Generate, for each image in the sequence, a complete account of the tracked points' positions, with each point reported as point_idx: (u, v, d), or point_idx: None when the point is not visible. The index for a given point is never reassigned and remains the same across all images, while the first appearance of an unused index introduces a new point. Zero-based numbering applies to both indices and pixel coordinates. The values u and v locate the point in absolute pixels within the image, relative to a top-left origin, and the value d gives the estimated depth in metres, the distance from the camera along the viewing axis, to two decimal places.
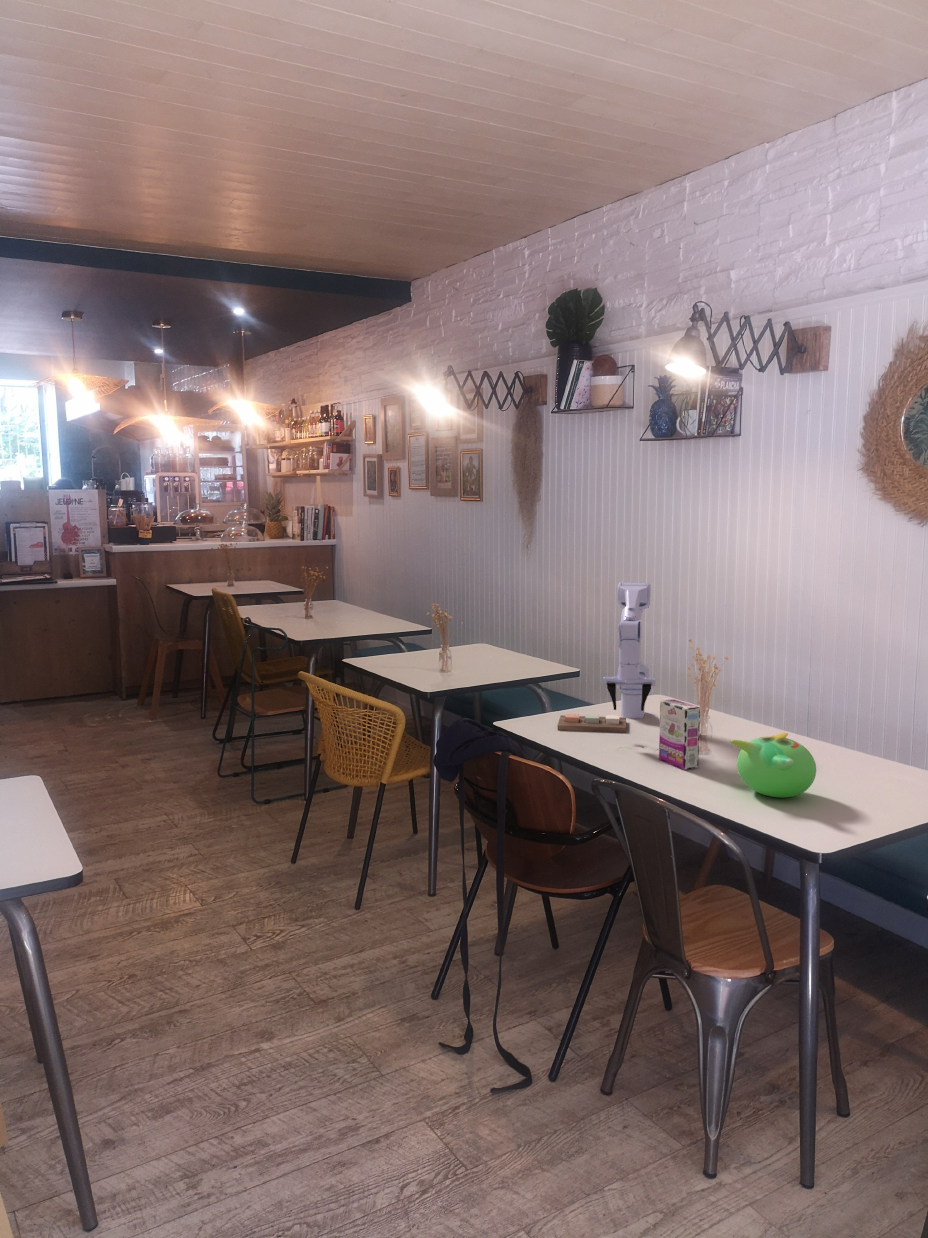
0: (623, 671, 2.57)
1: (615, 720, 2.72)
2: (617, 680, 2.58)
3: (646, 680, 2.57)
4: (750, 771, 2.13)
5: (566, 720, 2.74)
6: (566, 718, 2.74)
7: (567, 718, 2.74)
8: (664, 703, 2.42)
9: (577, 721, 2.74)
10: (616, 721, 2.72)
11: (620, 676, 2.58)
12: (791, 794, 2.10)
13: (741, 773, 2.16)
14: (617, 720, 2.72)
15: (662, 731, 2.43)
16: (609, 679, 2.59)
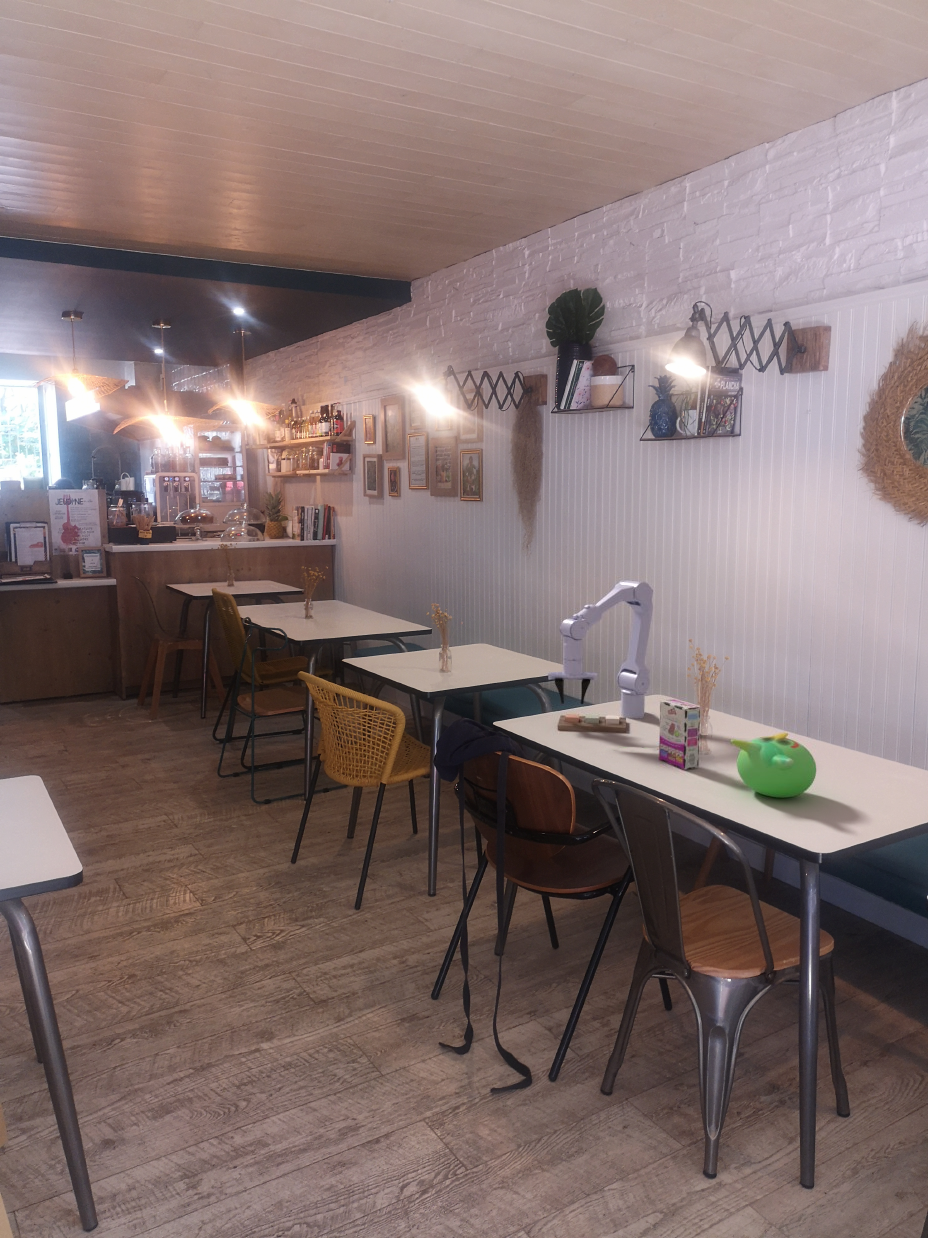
0: (566, 666, 2.72)
1: (615, 720, 2.72)
2: (561, 675, 2.73)
3: (588, 675, 2.72)
4: (750, 771, 2.13)
5: (566, 720, 2.74)
6: (566, 718, 2.74)
7: (567, 718, 2.74)
8: (664, 703, 2.42)
9: (577, 721, 2.74)
10: (616, 721, 2.72)
11: (564, 671, 2.73)
12: (791, 794, 2.10)
13: (741, 773, 2.16)
14: (617, 720, 2.72)
15: (662, 731, 2.43)
16: (554, 674, 2.74)
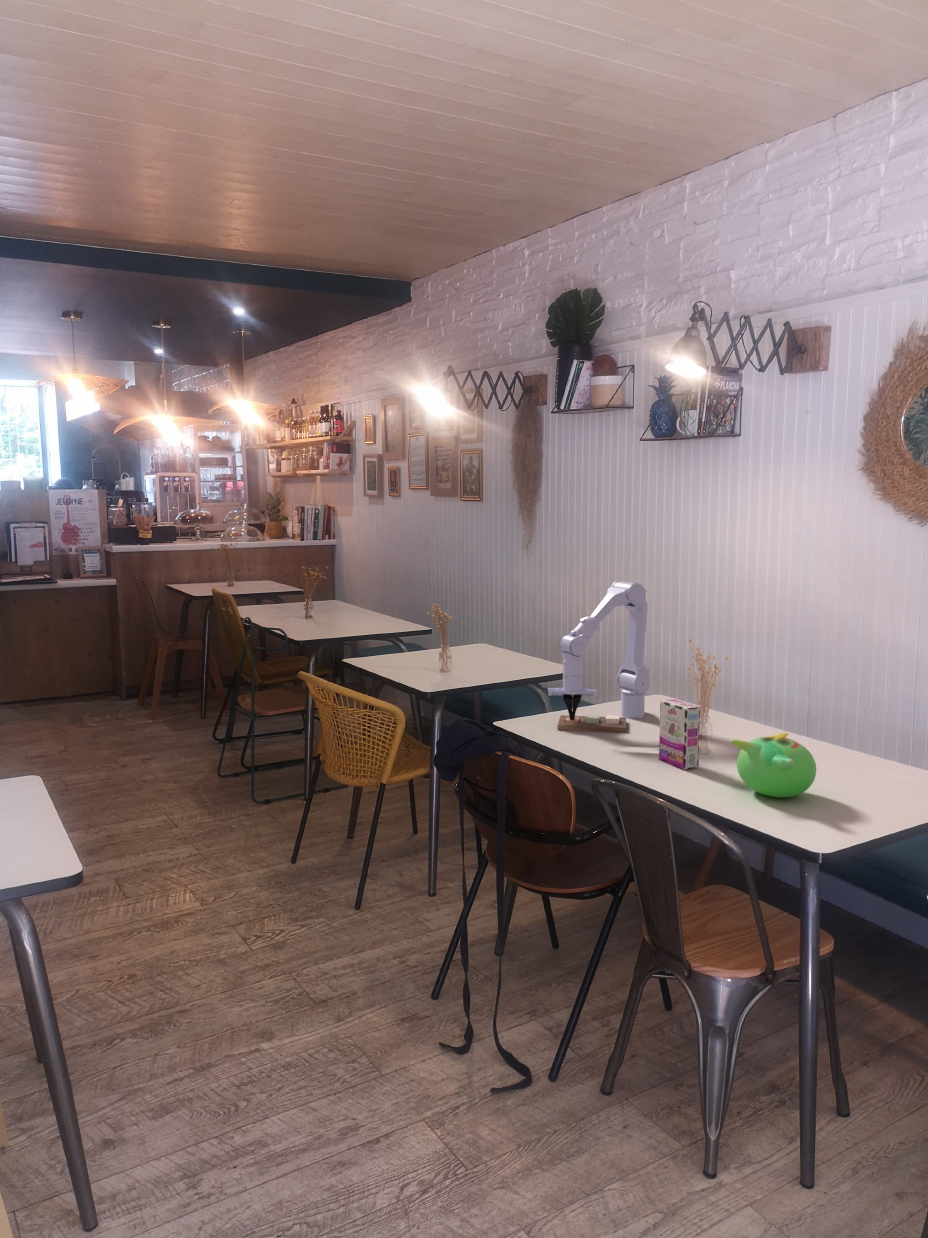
0: (566, 683, 2.72)
1: (615, 720, 2.72)
2: (561, 691, 2.73)
3: (588, 691, 2.72)
4: (750, 771, 2.13)
5: None
6: (566, 721, 2.74)
7: (567, 721, 2.74)
8: (664, 703, 2.42)
9: None
10: (616, 721, 2.72)
11: (564, 687, 2.74)
12: (791, 794, 2.10)
13: (741, 773, 2.16)
14: (617, 720, 2.72)
15: (662, 731, 2.43)
16: (553, 690, 2.74)
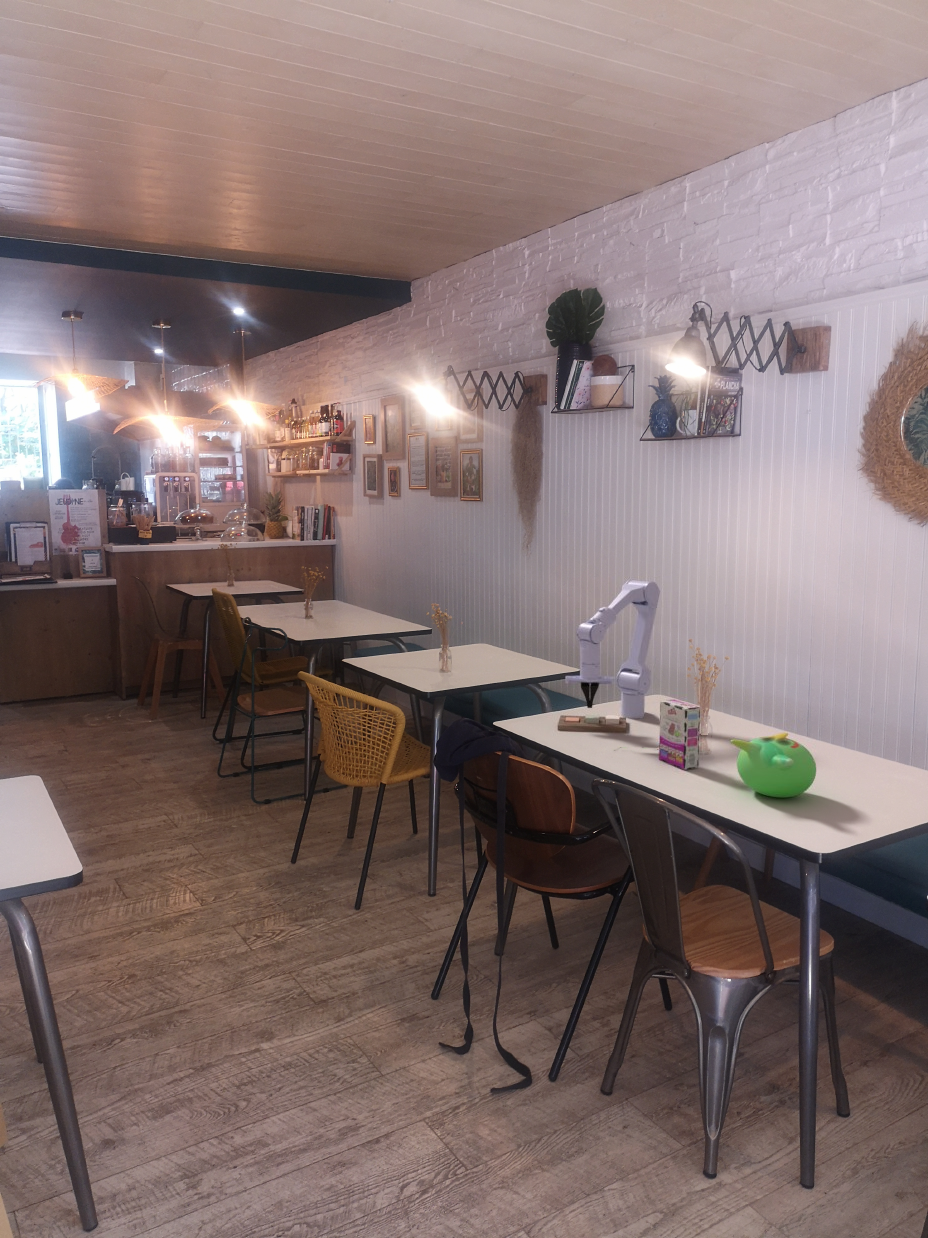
0: (583, 670, 2.71)
1: (615, 720, 2.72)
2: (578, 679, 2.72)
3: (606, 679, 2.71)
4: (750, 771, 2.13)
5: None
6: (566, 721, 2.74)
7: (567, 721, 2.74)
8: (664, 703, 2.42)
9: None
10: (616, 721, 2.72)
11: (581, 675, 2.72)
12: (791, 794, 2.10)
13: (741, 773, 2.16)
14: (617, 720, 2.72)
15: (662, 731, 2.43)
16: (571, 678, 2.73)
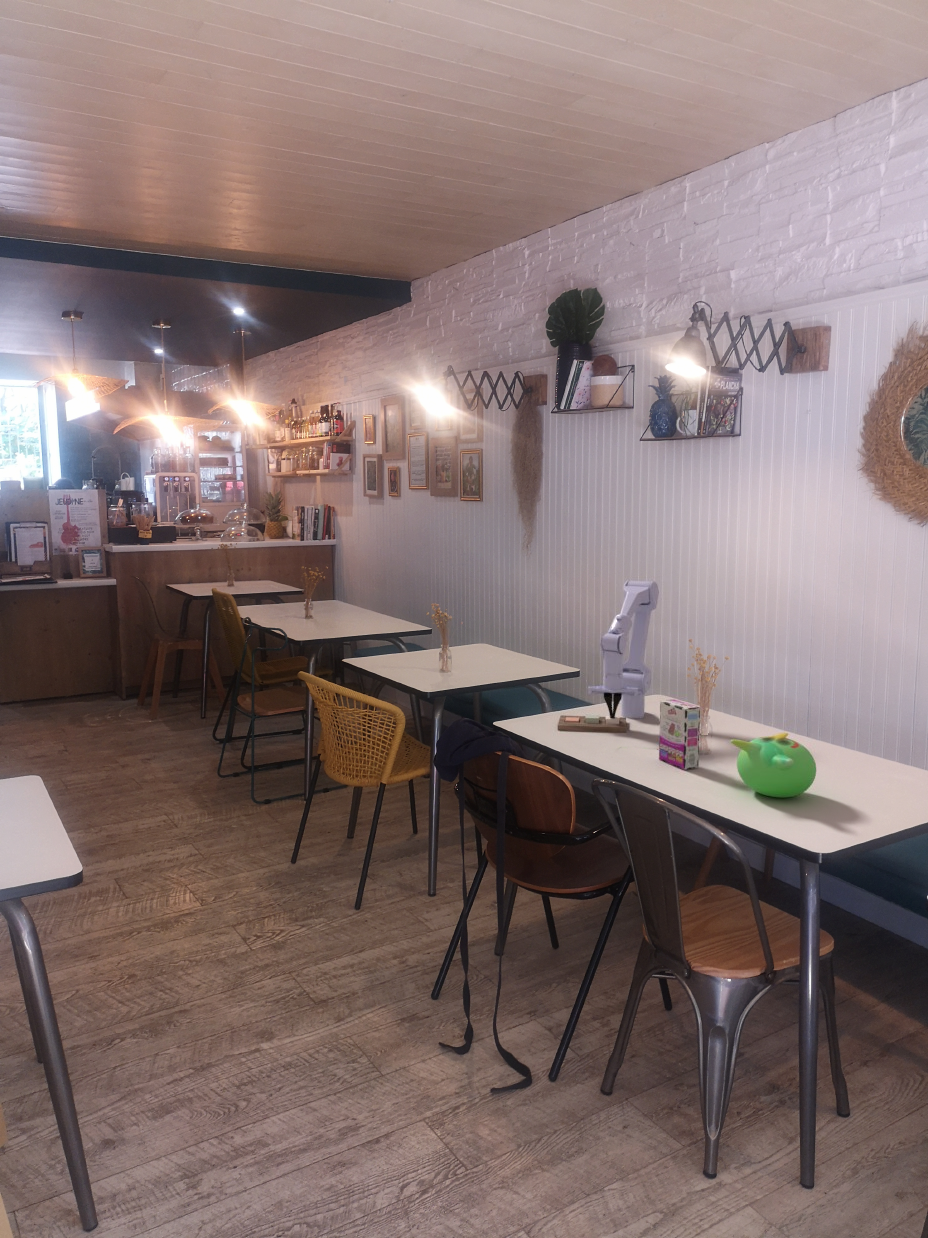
0: (607, 681, 2.70)
1: (615, 720, 2.72)
2: (601, 690, 2.71)
3: (629, 690, 2.70)
4: (750, 771, 2.13)
5: None
6: (566, 721, 2.74)
7: (567, 721, 2.74)
8: (664, 703, 2.42)
9: None
10: (616, 721, 2.72)
11: (604, 686, 2.71)
12: (791, 794, 2.10)
13: (741, 773, 2.16)
14: (617, 720, 2.72)
15: (662, 731, 2.43)
16: (594, 689, 2.72)
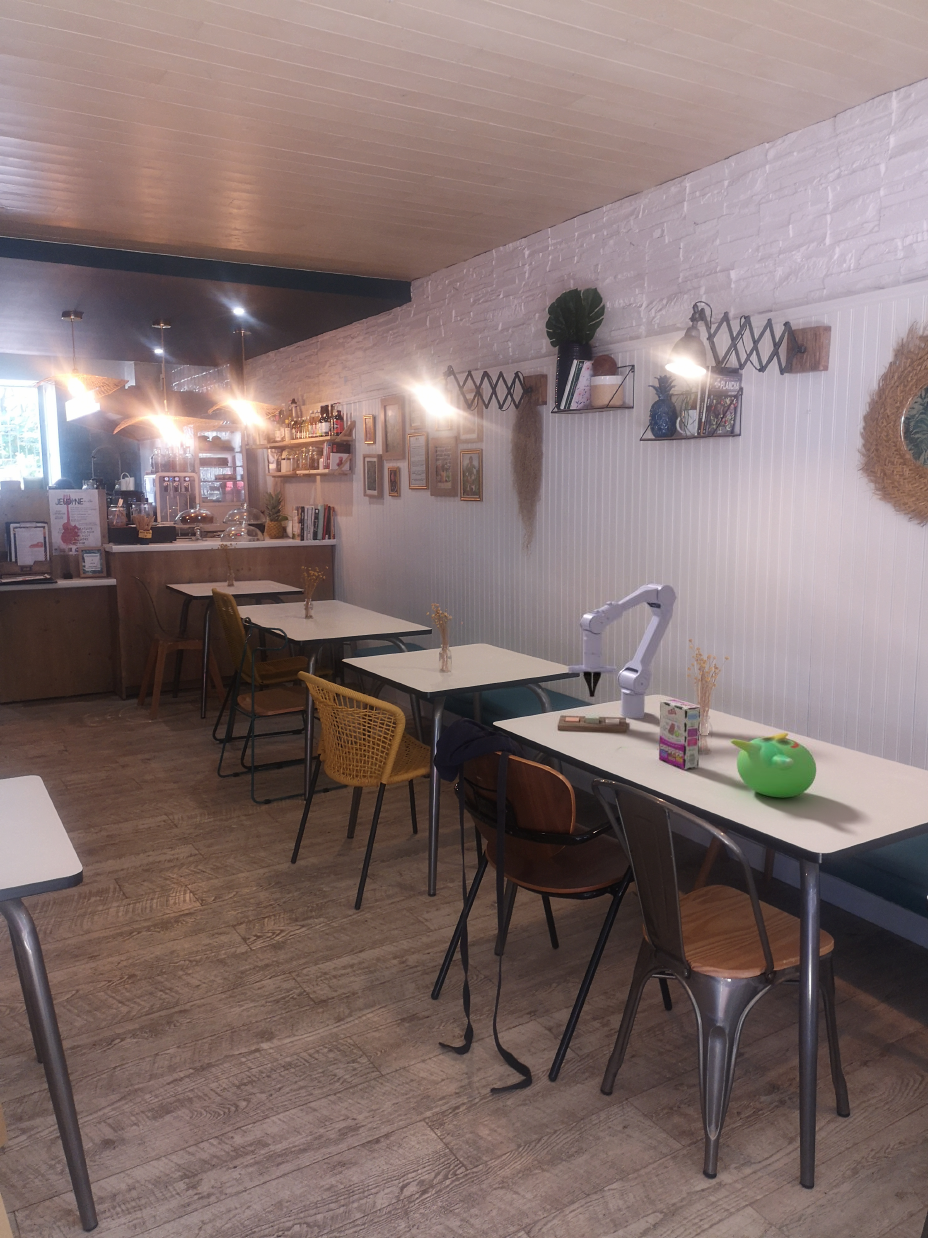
0: (586, 660, 2.77)
1: (615, 723, 2.72)
2: (581, 669, 2.78)
3: (608, 668, 2.77)
4: (750, 771, 2.13)
5: None
6: (566, 721, 2.74)
7: (567, 721, 2.74)
8: (664, 703, 2.42)
9: None
10: None
11: (584, 665, 2.78)
12: (791, 794, 2.10)
13: (741, 773, 2.16)
14: (617, 723, 2.72)
15: (662, 731, 2.43)
16: (574, 668, 2.79)
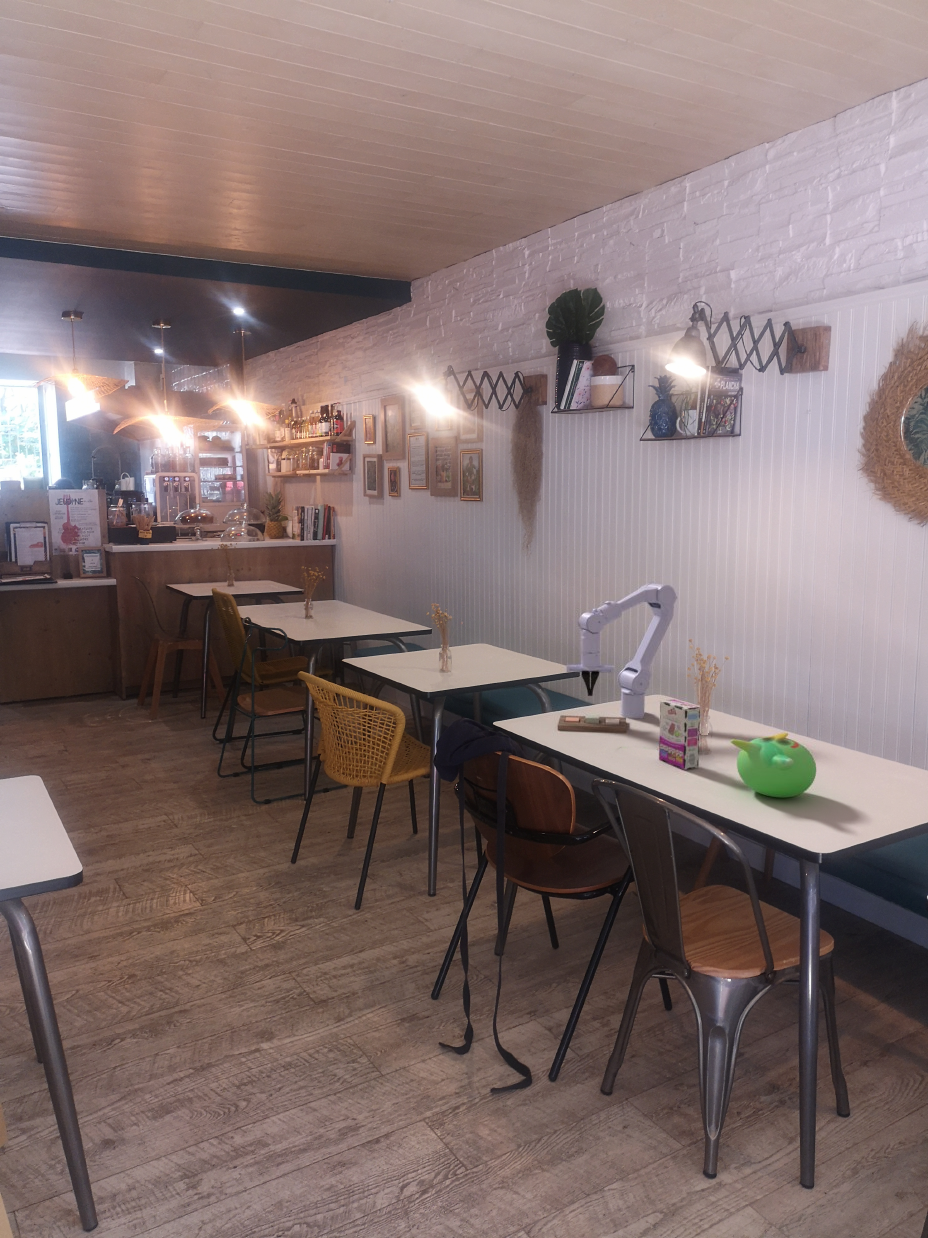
0: (584, 659, 2.77)
1: (615, 723, 2.72)
2: (579, 668, 2.78)
3: (606, 668, 2.77)
4: (750, 771, 2.13)
5: None
6: (566, 721, 2.74)
7: (567, 721, 2.74)
8: (664, 703, 2.42)
9: None
10: None
11: (582, 664, 2.79)
12: (791, 794, 2.10)
13: (741, 773, 2.16)
14: (617, 723, 2.72)
15: (662, 731, 2.43)
16: (572, 667, 2.80)
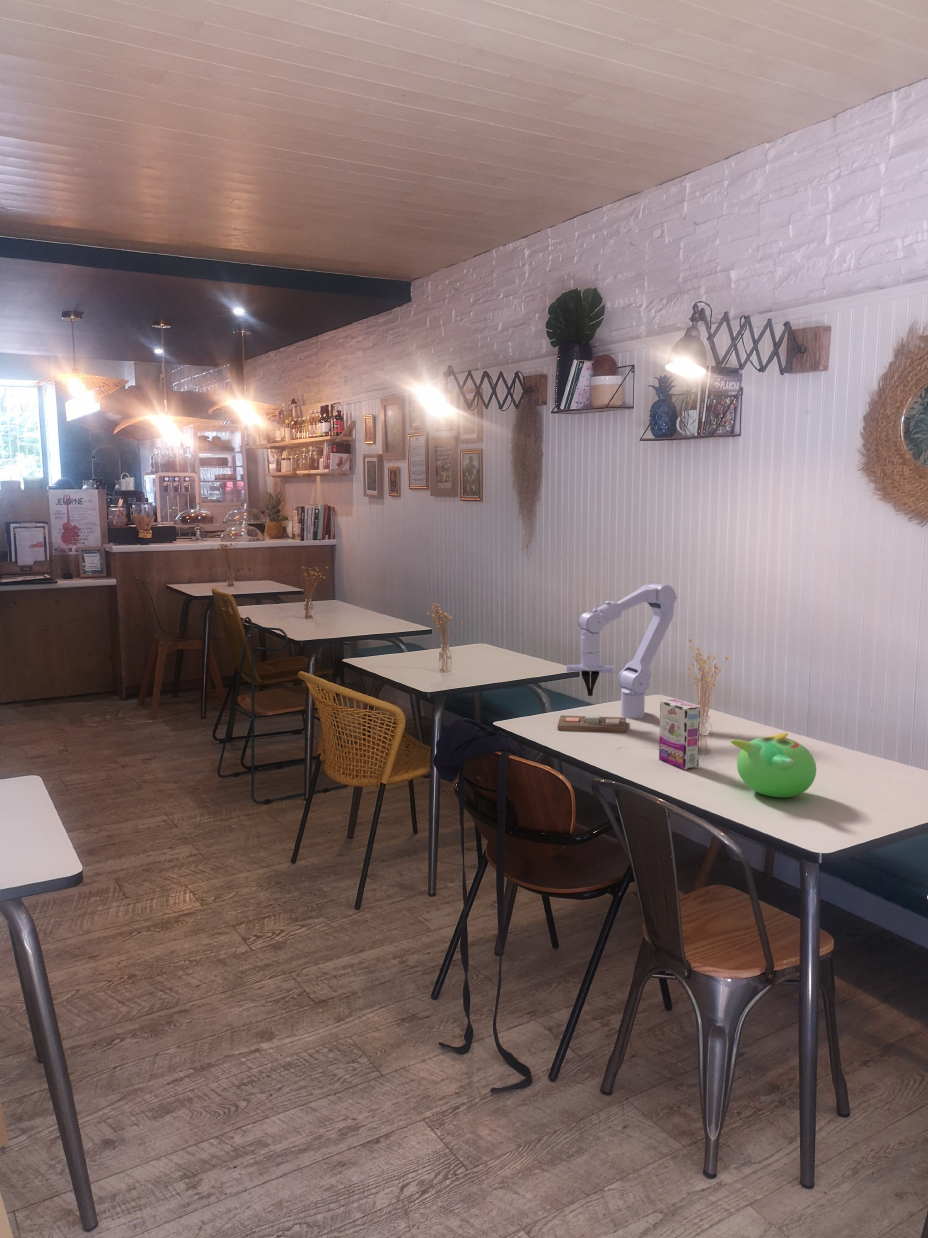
0: (584, 659, 2.77)
1: (615, 723, 2.72)
2: (579, 668, 2.78)
3: (606, 668, 2.77)
4: (750, 771, 2.13)
5: None
6: (566, 721, 2.74)
7: (567, 721, 2.74)
8: (664, 703, 2.42)
9: None
10: None
11: (582, 664, 2.79)
12: (791, 794, 2.10)
13: (741, 773, 2.16)
14: (617, 723, 2.72)
15: (662, 731, 2.43)
16: (572, 667, 2.80)
